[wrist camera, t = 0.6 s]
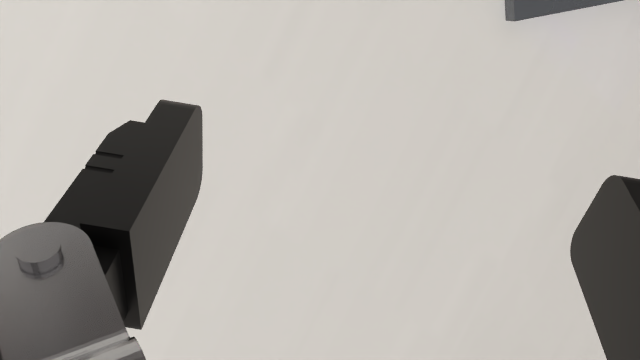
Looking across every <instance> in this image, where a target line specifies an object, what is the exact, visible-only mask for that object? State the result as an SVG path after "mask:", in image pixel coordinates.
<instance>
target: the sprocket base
mask: <svg viewBox="0 0 640 360" xmlns="http://www.w3.org/2000/svg"><path fill="white" fill-rule="evenodd" d="M617 1H623V0H505V11H506V21H519V20H524V19H529V18H534V17H539V16H545V15H550V14H555V13H560V12H565V11H571V10H576V9H581V8H586V7H591V6H597V5H602V4H607V3H612V2H617Z"/></svg>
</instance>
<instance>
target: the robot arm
mask: <svg viewBox="0 0 640 360" xmlns="http://www.w3.org/2000/svg"><path fill="white" fill-rule="evenodd" d="M201 180H202V110H201V107H200V106H198V105H192V104H185V103H179V102H173V101H167V100H160V101H159V102H158V104H157V105H156V107H155V108H154V110H153V111H152V113H151V114H150V116H149V117H148V119H147V120H146V122H145V123H143V122H137V121H131V120H130V121H128V122H127V123H125V124H123V125H122V126H120V127H118V128H117V129H115V130H114V131H112V132H110V133H109V134H108V135H107V136H106V138H105V139H104V140H103V142H102V143H101V144H100V146H99V147H98V149H97V150H96V154H93V155H92V157H91V158H90V160H89V161H88V162H87V164H86V167H85V169H82V171H81V172H80V173H79V175H78V176H77V177H76V179H75V180H74V182H73V183H72V184H71V186H70V187H69V188H68V190H67V191H66V192H65V194H64V195H63V197H62V198H61V199H60V201H59V202H58V203H57V205H56V206H55V208H54V209H53V210H52V212H51V213H50V214H49V216H48V217H47V219H46V220H45V221H44V222H43V223H36V224H31V225H28V226H25V227H22V228H19V229H17V230H15V231H13V232H11V233H9V234H7V235H6V236H4V237H3V238H2V239H0V360H146V359H145V356H144V354H143V352H142V349H141V347H140V345H139V343H138V341H137V340H136V338H135V337H131V338H130V337H129V335H128V333H127V330H126V328H125V327H128V328H134V329H140V330H141V329H142V327H143V325H144V322H145V320H146V317H147V315H148V313H149V310H150V308H151V306H152V303H153V301H154V299H155V296H156V294H157V292H158V289H159V287H160V285H161V282H162V280H163V277H164V275H165V273H166V270H167V268H168V266H169V263H170V261H171V259H172V256H173V254H174V252H175V249H176V247H177V245H178V242H179V240H180V237H181V235H182V233H183V230H184V228H185V226H186V223H187V221H188V219H189V216H190V214H191V212H192V209H193V207H194V205H195V202H196V200H197V197H198V194H199V190H200V185H201ZM570 253H571V261H572V264H573V267H574V270H575V272H576V275H577V278H578V281H579V283H580V286H581V289H582V292H583V294H584V297H585V300H586V303H587V306H588V308H589V311H590V314H591V317H592V319H593V322H594V325H595V328H596V330H597V333H598V336H599V339H600V341H601V344H602V347H603V350H604V353H605V355H606V358H607V360H640V179H635V178H629V177H623V176H616V175H613V176H610V177H609V178H607V179H606V180H605V181H604V183H603V184H602V186H601V188H600V189H599V191H598V193H597V194H596V196H595V198H594V200H593V201H592V203H591V205H590V206H589V208H588V210H587V211H586V213H585V215H584V217H583V218H582V220H581V222H580V223H579V225H578V227H577V228H576V230H575V232H574V235H573V238H572V242H571V250H570Z"/></svg>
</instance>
